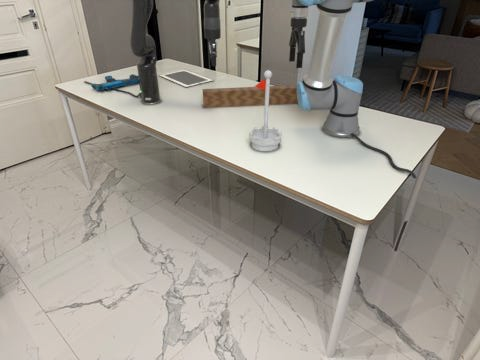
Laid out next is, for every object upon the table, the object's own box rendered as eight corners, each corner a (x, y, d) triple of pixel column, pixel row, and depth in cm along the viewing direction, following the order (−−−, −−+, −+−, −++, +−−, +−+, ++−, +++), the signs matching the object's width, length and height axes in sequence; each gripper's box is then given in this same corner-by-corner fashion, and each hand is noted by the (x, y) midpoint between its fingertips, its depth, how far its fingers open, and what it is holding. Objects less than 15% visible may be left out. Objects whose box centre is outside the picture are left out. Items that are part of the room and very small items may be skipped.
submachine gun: (136, 68, 224) (154, 75, 207) (137, 74, 226) (155, 81, 209) (84, 79, 205) (99, 86, 189) (85, 85, 207) (100, 93, 190)
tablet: (159, 75, 221) (159, 75, 220) (185, 70, 232) (185, 69, 231) (186, 87, 200) (186, 86, 200) (213, 80, 211) (213, 80, 211)
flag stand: (272, 135, 145) (276, 64, 129) (286, 149, 135) (292, 73, 119) (244, 140, 141) (244, 67, 125) (256, 154, 131) (258, 77, 115)
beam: (299, 100, 182) (300, 84, 178) (301, 103, 179) (302, 87, 174) (203, 104, 177) (202, 89, 172) (203, 107, 173) (202, 91, 169)
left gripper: (203, 24, 161) (205, 59, 170) (204, 30, 149) (206, 67, 158) (219, 24, 161) (219, 59, 170) (221, 30, 150) (222, 67, 159)
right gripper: (284, 14, 168) (282, 59, 179) (298, 21, 147) (294, 71, 158) (299, 14, 169) (296, 58, 180) (315, 20, 148) (310, 70, 159)
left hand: (213, 63), depth 164 cm, fingers open, 8 cm apart
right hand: (295, 64), depth 169 cm, fingers open, 13 cm apart
